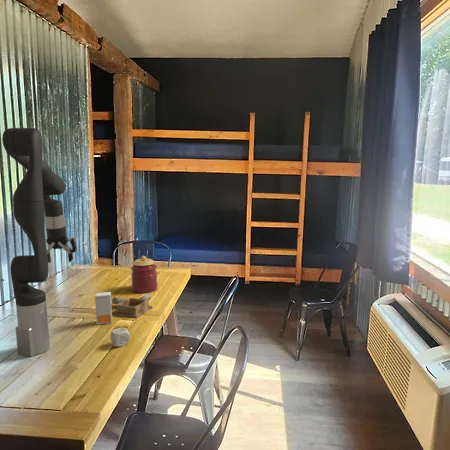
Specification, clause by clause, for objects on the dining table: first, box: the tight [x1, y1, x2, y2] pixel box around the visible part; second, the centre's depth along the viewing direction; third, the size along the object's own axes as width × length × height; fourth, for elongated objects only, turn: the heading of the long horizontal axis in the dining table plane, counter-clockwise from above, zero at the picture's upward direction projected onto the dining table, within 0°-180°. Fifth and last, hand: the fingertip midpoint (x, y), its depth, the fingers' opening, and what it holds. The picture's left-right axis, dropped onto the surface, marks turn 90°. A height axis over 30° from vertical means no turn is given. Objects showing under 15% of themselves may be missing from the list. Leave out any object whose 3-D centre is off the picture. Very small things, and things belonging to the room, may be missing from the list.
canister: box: [130, 255, 158, 294], centre depth 199 cm, size 13×13×18 cm
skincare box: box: [94, 291, 113, 325], centre depth 158 cm, size 6×4×12 cm
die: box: [110, 327, 131, 348], centre depth 139 cm, size 5×5×5 cm
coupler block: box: [111, 293, 153, 319], centre depth 173 cm, size 18×18×4 cm
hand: (60, 261), depth 167 cm, fingers open, 8 cm apart
